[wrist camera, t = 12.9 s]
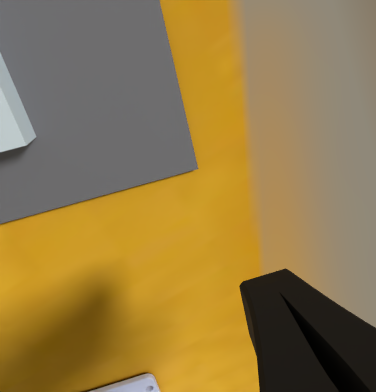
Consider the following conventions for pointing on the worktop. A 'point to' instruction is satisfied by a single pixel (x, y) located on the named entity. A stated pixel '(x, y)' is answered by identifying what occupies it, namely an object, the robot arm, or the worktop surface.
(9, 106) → the block
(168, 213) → the worktop surface
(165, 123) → the mat
